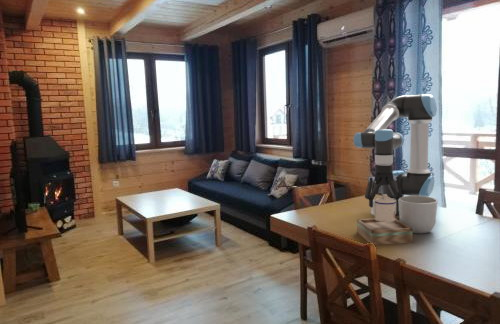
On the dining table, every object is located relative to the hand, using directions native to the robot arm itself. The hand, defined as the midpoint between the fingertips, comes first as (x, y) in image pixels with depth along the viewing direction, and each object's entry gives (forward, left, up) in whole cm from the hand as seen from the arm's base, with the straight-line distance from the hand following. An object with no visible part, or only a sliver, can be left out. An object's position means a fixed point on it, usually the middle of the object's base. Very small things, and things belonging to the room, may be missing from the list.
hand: (383, 213), depth 170 cm
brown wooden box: (0, 0, -11) cm, 11 cm away
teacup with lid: (0, 0, -3) cm, 3 cm away
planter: (-19, -6, -11) cm, 23 cm away
